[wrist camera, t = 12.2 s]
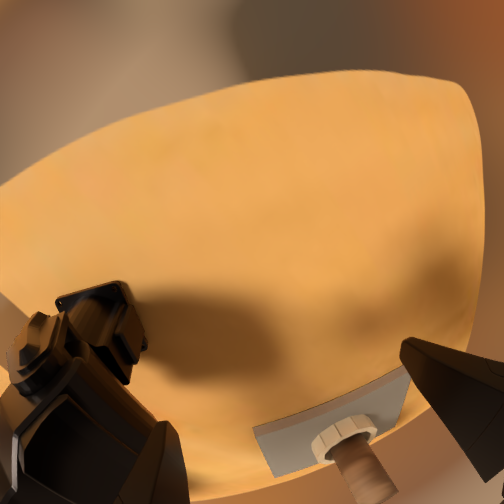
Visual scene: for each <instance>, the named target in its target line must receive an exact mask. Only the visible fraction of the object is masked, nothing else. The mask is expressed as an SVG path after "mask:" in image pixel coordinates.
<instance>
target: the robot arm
mask: <svg viewBox="0 0 504 504" xmlns="http://www.w3.org/2000/svg"><path fill="white" fill-rule="evenodd" d="M113 286H116V287H117V290H115V289H113ZM59 301H60V302H61V303H62V304H60V302H59ZM55 305H56V307H57V309H58V311H59V314H57V315H55V316H52V317H50V315H45V314H43V313H41V312H39V311H38V312H36V313H35V314H33V315H32V316H31V318H30V319H29V320H28V321H27V323H26V324H25V325H24V327H23V329H22V330H21V333H20V334H19V335H18V336H17V337H16V338H15V339H14V343H13V344H12V346H11V347H10V348H9V349H8V350H7V352H6V354H7V363H8V371H9V378H10V381H11V384H10V385H9V386H8V388H7V389H6V390H5V392H4V393H3V394H2V396H1V397H0V504H190V498H189V490H188V481H187V473H186V467H185V463H184V459H183V454H182V449H181V444H180V439H179V435H178V433H177V431H176V430H175V429H174V427H173V426H172V425H171V423H170V422H169V421H159V422H158V421H157V420H156V418H155V417H154V416H153V415H152V414H151V413H150V412H149V411H148V410H147V409H146V408H145V407H144V406H143V405H142V404H141V403H140V402H139V401H138V400H137V399H136V398H135V397H134V396H133V395H132V394H131V393H130V392H129V391H128V390H127V389H126V388H125V387H124V385H128V384H129V383H130V379H131V373H132V368H133V365H136V364H137V363H138V361H139V356H140V352H141V351H145V350H147V347H148V342H147V340H146V338H145V336H144V329H143V326H142V324H141V322H140V320H139V318H138V316H137V314H136V311H135V309H134V307H133V306H132V305H131V304H129V302H128V300H127V298H126V295H125V293H124V291H123V288H122V286H121V284H120V283H119V282H118V281H111V282H108V283H104V284H101V285H97V286H94V287H90V288H87V289H84V290H80V291H77V292H73V293H70V294H66V295H63V296H59V297H58V298H57V299H56V301H55ZM142 344H143V345H144V346H142ZM400 360H401V362H402V364H403V365H404V367H405V368H406V370H407V372H408V373H409V375H410V377H411V378H412V380H413V382H414V383H415V385H416V387H417V388H418V389H419V391H420V392H421V393H422V395H423V396H424V397H425V399H426V400H427V401H428V403H429V404H430V405H431V407H432V408H433V409H434V411H435V412H436V413H437V415H438V416H439V417H440V419H441V420H442V421H443V423H444V424H445V426H446V427H447V428H448V430H449V431H450V433H451V434H452V435H453V437H454V438H455V440H456V441H457V442H458V444H459V445H460V447H461V448H462V450H463V451H464V453H465V454H466V456H467V457H468V459H469V460H470V461H471V463H472V465H473V466H474V468H475V469H476V470H477V472H478V474H479V475H480V477H481V478H482V479H483V481H484V482H485V483H486V482H488V481H489V480H490V479H491V478H493V477H494V476H495V475H496V474H498V473H499V472H500V471H501V470H503V469H504V363H503V362H498V361H494V360H490V359H487V358H483V357H479V356H476V355H472V354H469V353H465V352H462V351H458V350H455V349H451V348H448V347H445V346H441V345H438V344H434V343H431V342H428V341H425V340H421V339H418V338H415V337H408V338H407V339H405V340H403V341H402V344H401V349H400ZM502 496H503V498H504V484H503V490H502ZM500 504H504V500H503V501H502V502H501V503H500Z"/></svg>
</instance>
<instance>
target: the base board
mask: <svg viewBox="0 0 504 504" xmlns="http://www.w3.org/2000/svg"><path fill="white" fill-rule="evenodd" d="M410 380H411V377H410V375H409V373H408V372H407V370H406V368H405V367H404V365H402V366H400V367H399V368H397V369H395V370H393V371H392V372H390V373H388V374H386V375H384V376H382V377H380V378H378V379H377V380H375V381H373V382H371V383H369V384H367V385H365V386H362V387H360V388H358V389H356V390H354V391H352V392H350V393H347V394H345V395H343V396H341V397H338V398H336V399H334V400H331V401H329V402H327V403H324V404H322V405H319V406H317V407H314V408H311V409H309V410H306V411H303V412H301V413H298V414H295V415H292V416H289V417H286V418H283V419H280V420H277V421H274V422H270V423H267V424H264V425H260V426H257V427H253V431H254V434H255V438H256V440H257V442H258V444H259V446H260V448H261V451H262V453H263V455H264V457H265V459H266V461H267V463H268V465H269V467H270V469H271V471H272V473H273V475H274V477H275V478H276V477H280V476H283V475H286V474H290V473H293V472H296V471H299V470H302V469H305V468H307V467H310V466H313V465H316V464H318V463H321V464H330V463H335V461H334V459H333V457H332V455H331V453H330V451H329V450H330V448H331V447H333V446H334V445H336V444H337V443H339V442H340V441H342V440H343V439H345V438H348V437H350V436H352V435H354V434H356V433H361V434H362V435H363V437H364V438H365V440H366V441H367V443H368V444H369V443H370V442H371V441H372V440H373V439H374V438H375V437H377V436H379V435H381V434H383V433H385V432H386V431H388V430H390V429H392V428H393V427H395V425H396V423H397V420H398V417H399V414H400V411H401V409H402V406H403V403H404V400H405V396H406V393H407V390H408V387H409V383H410Z"/></svg>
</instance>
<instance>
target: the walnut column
mask: <svg viewBox="0 0 504 504" xmlns="http://www.w3.org/2000/svg"><path fill="white" fill-rule="evenodd" d="M329 451H330V453H331V455H332V457H333V459H334V461H335V463H336V464H337V466H338V468H339V470H340V472H341V474H342V476H343V477H344V479H345V481H346V483H347V485H348V487H349V489H350V490H351V493H352V494H353V496H354V498H355V500H356V502H357V503H358V504H381V503H383V502H385V501H386V500H388V499H390V498H391V497H393V496H394V495H395V494H397V493H398V490H397V488H396V486H395V485H394V483H393V482H392V480H391V479H390V477H389V475H388V474H387V472H386V471H385V469H384V468H383V466H382V465H381V463H380V462H379V460H378V459H377V457H376V455H375V454H374V452H373V451H372V449H371V448H370V446H369V444H368V443H367V441H366V440H365V438H364V437H363V435H362V434H361V433H356V434H354V435H352V436H350V437H348V438H345V439H343V440H342V441H340V442H339V443H337V444H336V445H334V446H333V447H331V448H330V450H329Z"/></svg>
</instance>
